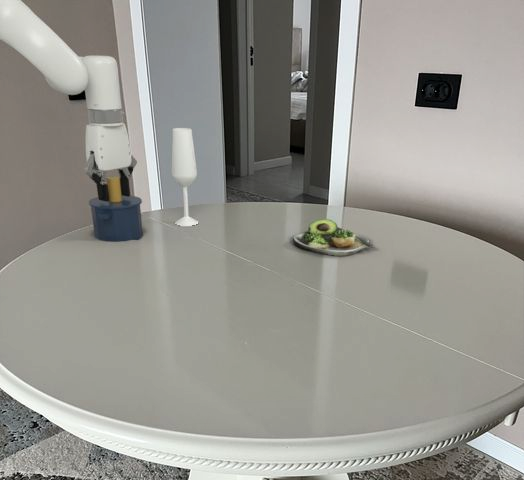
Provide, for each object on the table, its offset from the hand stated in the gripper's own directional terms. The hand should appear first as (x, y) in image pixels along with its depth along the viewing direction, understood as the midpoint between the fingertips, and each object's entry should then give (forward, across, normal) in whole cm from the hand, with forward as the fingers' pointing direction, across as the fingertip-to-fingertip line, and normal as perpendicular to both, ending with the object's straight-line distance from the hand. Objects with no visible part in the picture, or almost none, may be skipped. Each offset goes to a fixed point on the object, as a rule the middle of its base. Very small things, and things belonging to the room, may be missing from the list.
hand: (114, 197), depth 129 cm
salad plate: (+10, -28, +45) cm, 54 cm away
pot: (+10, 0, 0) cm, 10 cm away
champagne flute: (+10, -20, +5) cm, 23 cm away
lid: (+1, 0, 0) cm, 1 cm away
